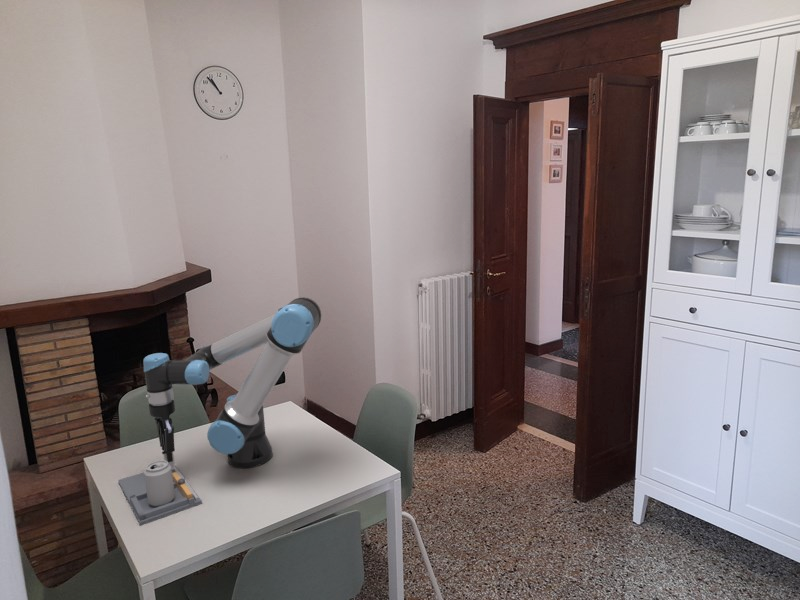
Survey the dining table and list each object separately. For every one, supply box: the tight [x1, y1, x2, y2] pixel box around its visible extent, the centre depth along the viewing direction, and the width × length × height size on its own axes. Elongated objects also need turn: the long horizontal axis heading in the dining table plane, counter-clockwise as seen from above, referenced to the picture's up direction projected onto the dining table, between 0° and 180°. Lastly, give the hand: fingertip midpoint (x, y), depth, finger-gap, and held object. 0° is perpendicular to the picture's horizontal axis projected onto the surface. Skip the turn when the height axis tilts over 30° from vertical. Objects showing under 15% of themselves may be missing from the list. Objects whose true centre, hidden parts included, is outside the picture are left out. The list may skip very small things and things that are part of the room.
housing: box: [118, 465, 203, 527], centre depth 177 cm, size 30×17×2 cm, turn 36°
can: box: [143, 459, 175, 507], centre depth 169 cm, size 8×8×12 cm
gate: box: [172, 472, 193, 502], centre depth 176 cm, size 17×2×3 cm, turn 36°
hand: (170, 469), depth 186 cm, fingers closed
